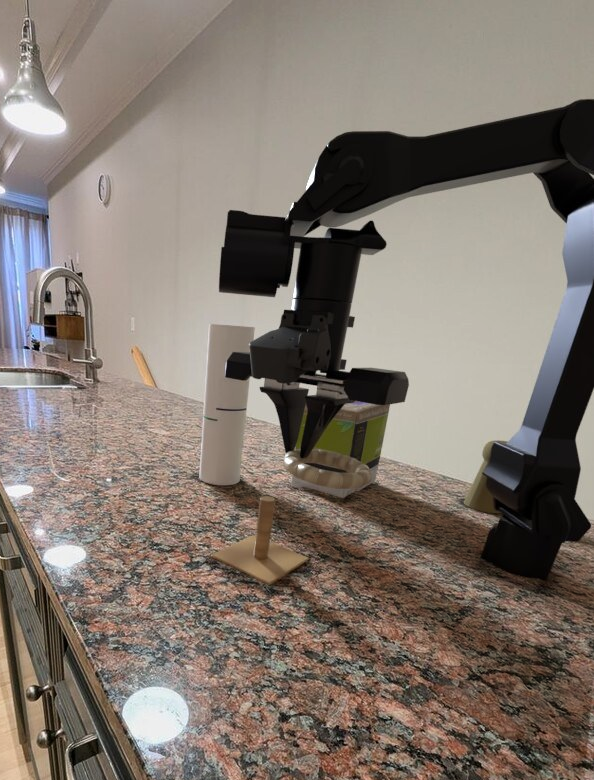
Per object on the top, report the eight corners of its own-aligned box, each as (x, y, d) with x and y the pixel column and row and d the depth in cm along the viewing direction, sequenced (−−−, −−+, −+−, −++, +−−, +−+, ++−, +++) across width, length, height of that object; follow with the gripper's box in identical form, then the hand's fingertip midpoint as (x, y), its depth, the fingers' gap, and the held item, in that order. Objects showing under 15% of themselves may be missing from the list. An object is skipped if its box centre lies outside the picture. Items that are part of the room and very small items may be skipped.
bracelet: (382, 480, 49) (386, 466, 48) (344, 498, 42) (348, 482, 41) (309, 455, 54) (312, 443, 53) (265, 468, 47) (268, 454, 47)
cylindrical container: (236, 487, 75) (252, 327, 65) (195, 482, 76) (204, 323, 67) (242, 475, 81) (257, 327, 72) (203, 470, 83) (213, 324, 73)
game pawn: (493, 501, 77) (514, 439, 73) (512, 515, 72) (535, 448, 67) (457, 498, 78) (476, 435, 73) (473, 511, 72) (494, 444, 68)
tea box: (326, 470, 88) (339, 393, 82) (376, 483, 82) (394, 402, 77) (287, 486, 77) (300, 399, 72) (342, 503, 72) (360, 409, 66)
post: (307, 565, 51) (319, 500, 48) (268, 591, 46) (278, 520, 43) (252, 541, 56) (259, 481, 53) (210, 562, 51) (215, 496, 47)
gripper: (196, 290, 44) (186, 446, 50) (382, 296, 33) (340, 495, 39) (262, 301, 51) (246, 434, 57) (429, 309, 40) (388, 473, 46)
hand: (296, 455), depth 50 cm, fingers closed on bracelet, 1 cm apart
